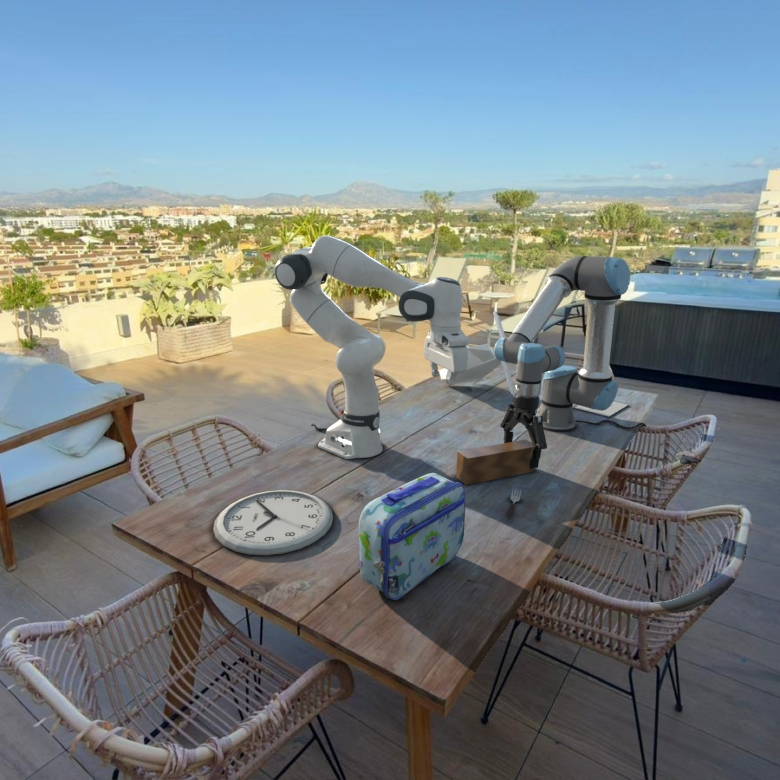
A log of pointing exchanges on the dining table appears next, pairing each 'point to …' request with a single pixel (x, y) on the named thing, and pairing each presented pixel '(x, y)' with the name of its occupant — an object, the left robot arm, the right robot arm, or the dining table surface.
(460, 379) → the white plastic object
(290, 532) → the wall clock
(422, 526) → the lunch box
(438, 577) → the dining table surface
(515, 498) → the fork
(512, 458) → the bar
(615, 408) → the invitation card
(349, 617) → the dining table surface
